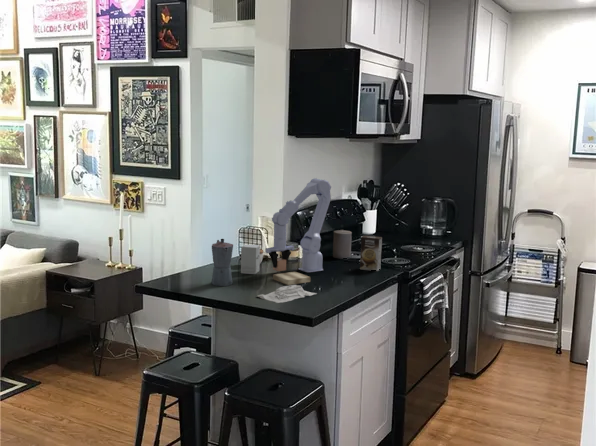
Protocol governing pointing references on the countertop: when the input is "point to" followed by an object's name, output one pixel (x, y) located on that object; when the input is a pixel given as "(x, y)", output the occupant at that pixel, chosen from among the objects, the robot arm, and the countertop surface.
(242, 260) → the supplement box
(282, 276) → the base
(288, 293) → the terrain model
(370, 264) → the coffee box
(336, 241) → the pillar candle
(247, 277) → the countertop surface
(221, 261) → the moka pot
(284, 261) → the block
